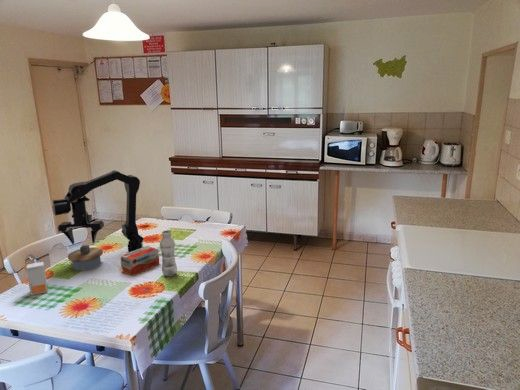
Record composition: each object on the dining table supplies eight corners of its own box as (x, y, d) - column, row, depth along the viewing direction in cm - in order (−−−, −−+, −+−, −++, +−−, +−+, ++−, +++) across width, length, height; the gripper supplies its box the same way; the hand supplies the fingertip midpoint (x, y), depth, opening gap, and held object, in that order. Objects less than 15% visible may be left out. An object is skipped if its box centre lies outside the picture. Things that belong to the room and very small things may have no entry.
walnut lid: (107, 248, 187) (106, 240, 186) (96, 260, 173) (95, 252, 172) (75, 249, 186) (74, 241, 185) (62, 262, 172) (61, 253, 170)
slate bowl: (103, 259, 187) (102, 249, 186) (95, 269, 175) (94, 259, 174) (78, 260, 186) (77, 250, 185) (68, 271, 174) (67, 260, 173)
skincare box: (30, 295, 152) (25, 268, 150) (31, 291, 156) (26, 264, 153) (47, 292, 155) (43, 265, 152) (48, 287, 159) (43, 261, 156)
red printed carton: (149, 260, 185) (147, 245, 183) (160, 264, 180) (158, 248, 178) (121, 271, 173) (119, 255, 171) (132, 276, 168) (130, 259, 166)
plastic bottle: (180, 272, 171) (177, 230, 166) (172, 278, 165) (168, 235, 160) (167, 270, 173) (164, 228, 168) (159, 277, 167) (155, 233, 162)
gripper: (105, 205, 182) (109, 236, 186) (65, 207, 181) (69, 238, 185) (98, 212, 172) (102, 245, 175) (55, 214, 170) (60, 246, 174)
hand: (83, 243), depth 178 cm, fingers open, 9 cm apart
